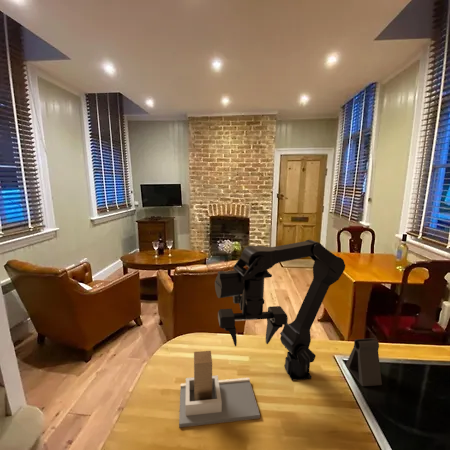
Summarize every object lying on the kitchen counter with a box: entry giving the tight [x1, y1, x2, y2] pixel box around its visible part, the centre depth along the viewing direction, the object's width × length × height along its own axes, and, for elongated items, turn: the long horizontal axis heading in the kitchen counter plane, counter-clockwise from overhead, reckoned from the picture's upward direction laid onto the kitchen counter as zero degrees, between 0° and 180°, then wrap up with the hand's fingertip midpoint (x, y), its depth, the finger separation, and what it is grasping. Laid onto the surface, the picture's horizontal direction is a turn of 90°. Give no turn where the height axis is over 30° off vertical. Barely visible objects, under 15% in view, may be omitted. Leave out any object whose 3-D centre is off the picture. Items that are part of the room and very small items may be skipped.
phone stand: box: [345, 337, 383, 387], centre depth 79 cm, size 9×6×12 cm, turn 5°
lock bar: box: [193, 350, 213, 401], centre depth 68 cm, size 4×4×12 cm
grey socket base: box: [178, 374, 261, 428], centre depth 69 cm, size 20×12×4 cm, turn 98°
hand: (251, 344), depth 74 cm, fingers open, 9 cm apart
